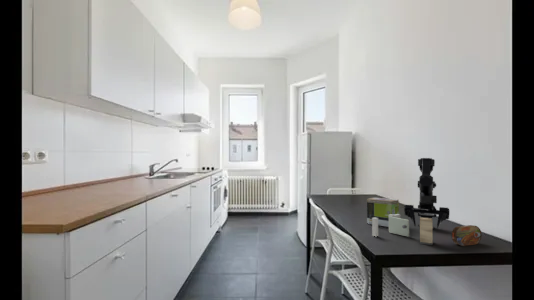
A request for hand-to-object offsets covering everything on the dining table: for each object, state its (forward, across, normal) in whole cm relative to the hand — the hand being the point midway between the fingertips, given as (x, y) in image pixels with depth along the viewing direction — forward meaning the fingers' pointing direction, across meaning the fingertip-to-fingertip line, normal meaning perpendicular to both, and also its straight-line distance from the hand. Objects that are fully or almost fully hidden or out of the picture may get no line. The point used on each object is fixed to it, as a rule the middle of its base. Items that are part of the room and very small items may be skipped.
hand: (426, 226), depth 138 cm
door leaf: (-1, -13, +11) cm, 17 cm away
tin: (0, +16, +10) cm, 19 cm away
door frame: (-2, -18, +12) cm, 22 cm away
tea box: (-16, -22, +26) cm, 38 cm away
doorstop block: (+5, 0, +6) cm, 7 cm away
